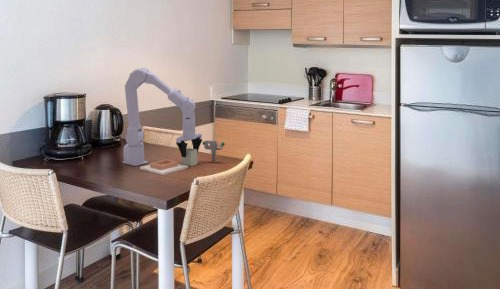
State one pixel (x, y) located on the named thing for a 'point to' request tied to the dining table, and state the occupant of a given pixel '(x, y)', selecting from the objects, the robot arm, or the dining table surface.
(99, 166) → the dining table surface
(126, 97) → the robot arm
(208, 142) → the mechanical component
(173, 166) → the duct plate
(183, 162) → the striped green box
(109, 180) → the dining table surface
